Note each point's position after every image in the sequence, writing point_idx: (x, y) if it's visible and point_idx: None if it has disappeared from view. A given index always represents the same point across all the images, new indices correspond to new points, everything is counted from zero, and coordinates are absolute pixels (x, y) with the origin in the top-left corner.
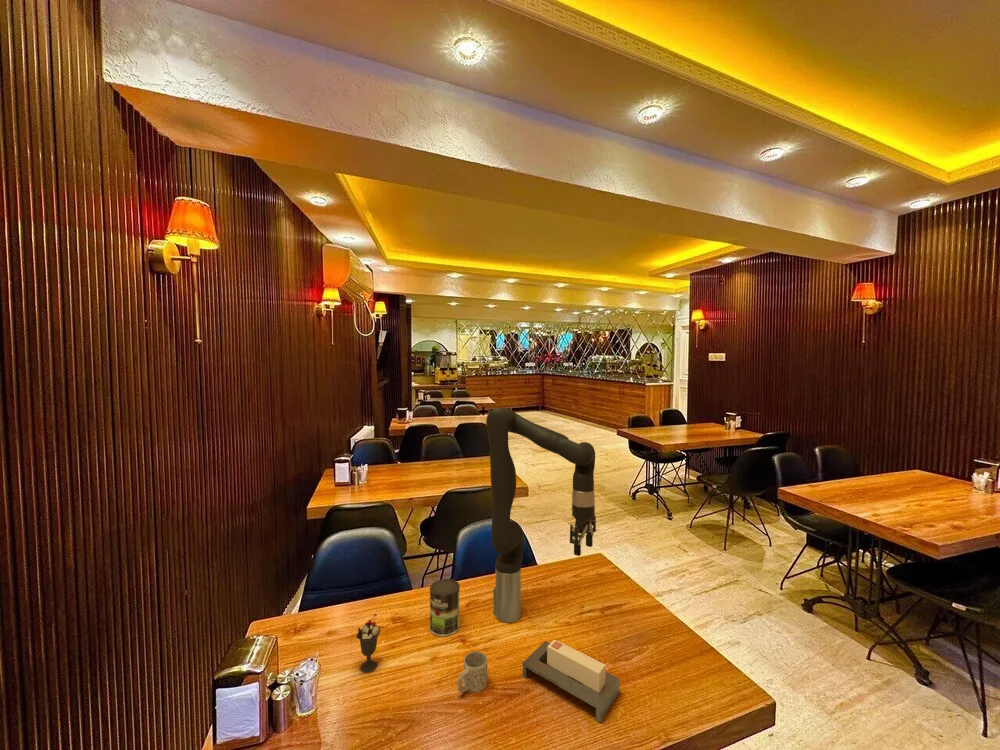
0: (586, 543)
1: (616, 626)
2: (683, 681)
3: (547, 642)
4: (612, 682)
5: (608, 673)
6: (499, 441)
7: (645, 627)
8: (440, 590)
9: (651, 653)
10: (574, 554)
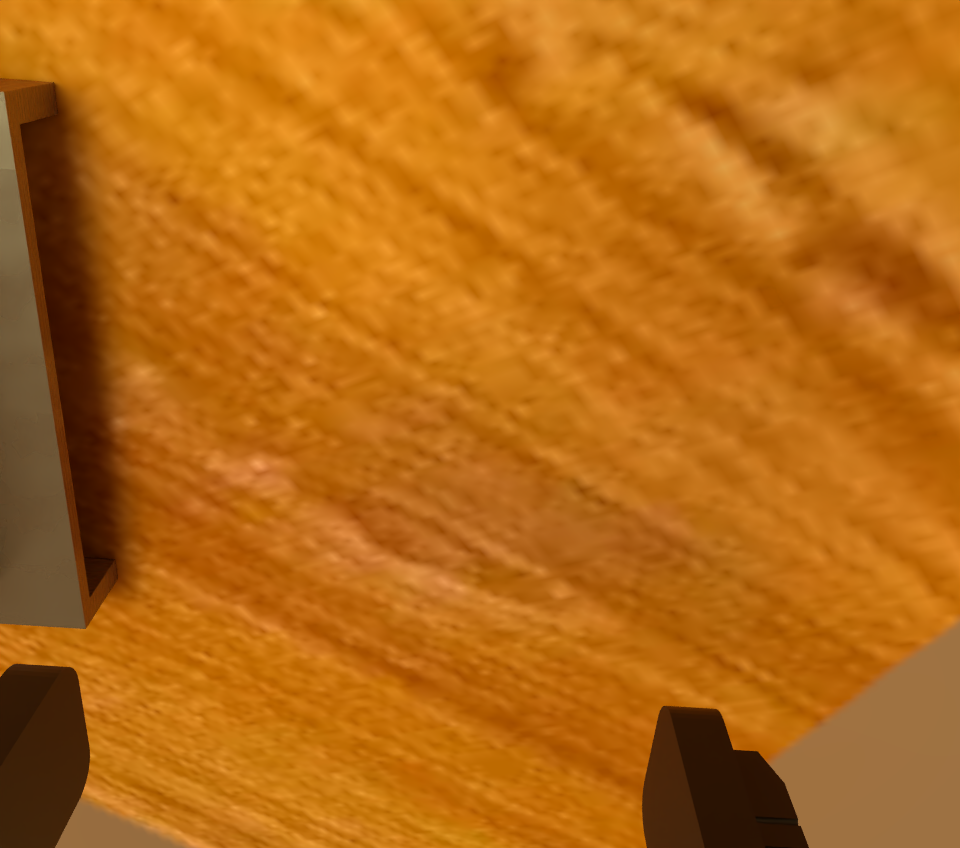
0: (675, 750)
1: (673, 403)
2: (409, 772)
3: (1, 121)
4: (29, 611)
5: (74, 576)
6: None
7: (761, 555)
8: None
9: (523, 631)
10: (23, 665)
